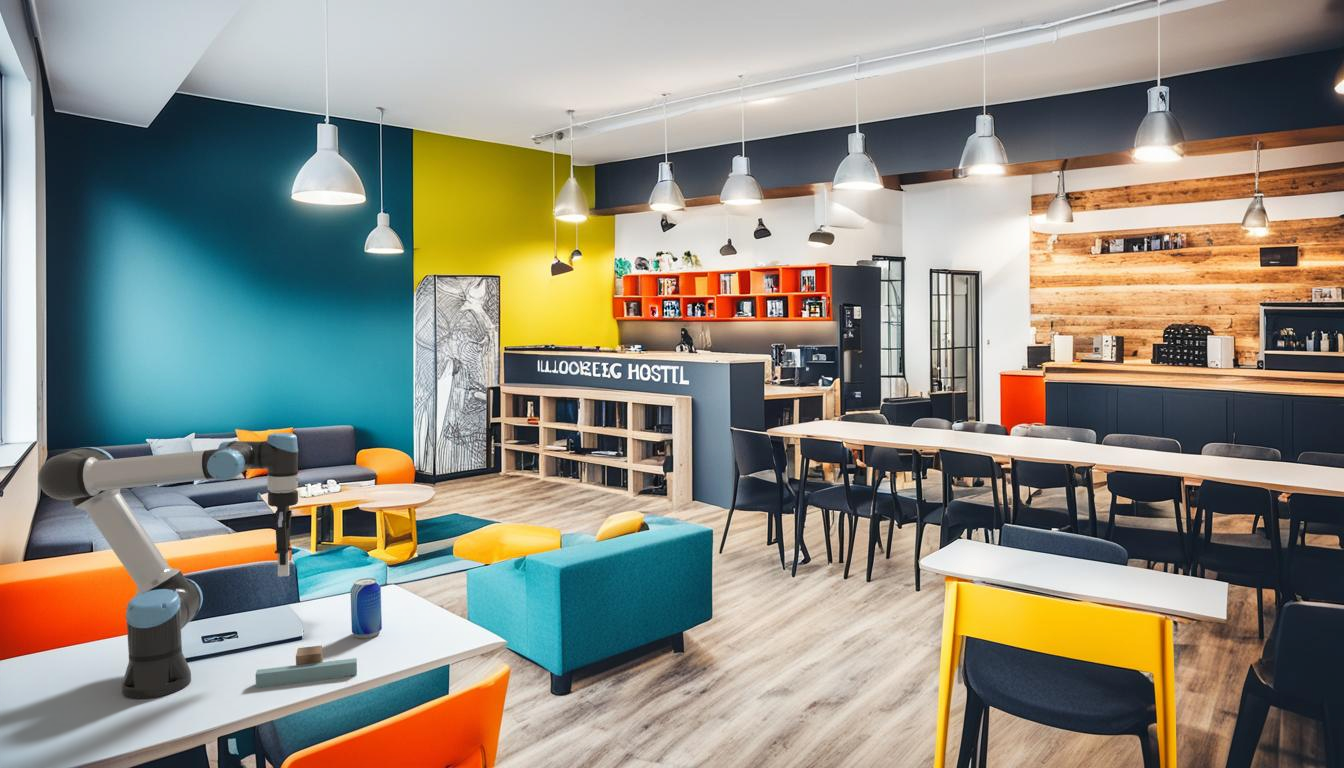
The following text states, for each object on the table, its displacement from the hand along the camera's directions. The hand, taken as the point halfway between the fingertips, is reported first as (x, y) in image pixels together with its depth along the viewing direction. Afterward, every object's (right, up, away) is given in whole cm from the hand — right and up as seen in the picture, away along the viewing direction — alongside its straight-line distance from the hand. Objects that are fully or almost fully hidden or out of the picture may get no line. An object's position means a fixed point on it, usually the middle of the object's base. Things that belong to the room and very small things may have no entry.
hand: (283, 575), depth 239 cm
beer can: (+16, -22, +20) cm, 33 cm away
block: (+11, -24, -8) cm, 28 cm away
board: (+12, -24, -13) cm, 30 cm away
